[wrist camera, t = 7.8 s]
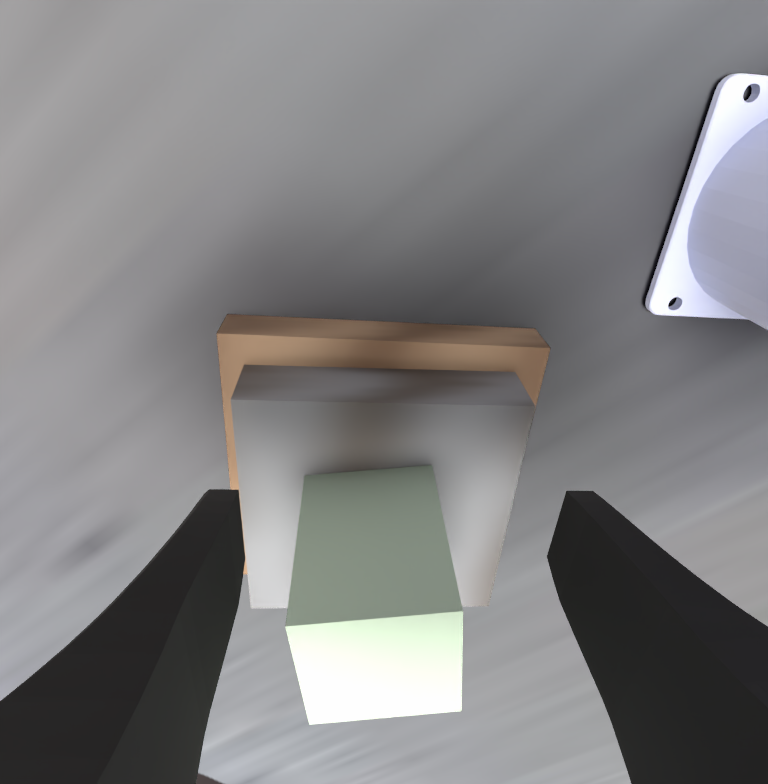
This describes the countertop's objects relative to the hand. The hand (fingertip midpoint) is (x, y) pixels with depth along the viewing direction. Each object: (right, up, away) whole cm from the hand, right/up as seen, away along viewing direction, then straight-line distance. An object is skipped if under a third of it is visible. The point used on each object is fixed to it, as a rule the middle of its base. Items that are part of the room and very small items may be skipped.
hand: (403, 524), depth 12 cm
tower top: (-1, 0, +10) cm, 10 cm away
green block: (-1, -2, +8) cm, 8 cm away
